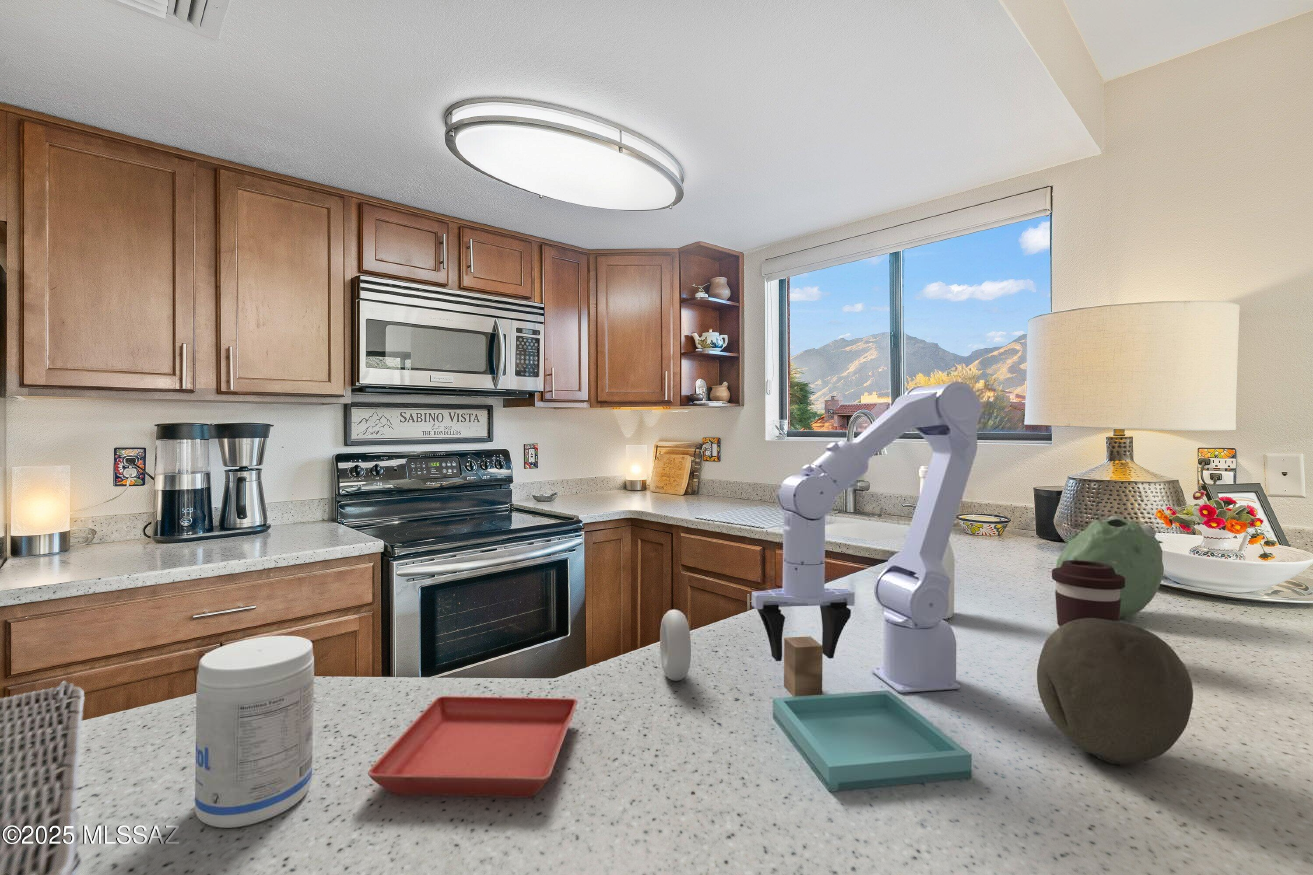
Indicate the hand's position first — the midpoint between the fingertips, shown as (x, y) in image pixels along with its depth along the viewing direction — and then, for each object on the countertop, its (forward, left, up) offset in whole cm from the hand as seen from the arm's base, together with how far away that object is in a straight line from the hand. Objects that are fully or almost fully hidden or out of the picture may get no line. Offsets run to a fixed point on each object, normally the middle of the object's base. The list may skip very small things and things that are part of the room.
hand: (802, 657), depth 84 cm
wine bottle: (-40, -31, -5) cm, 51 cm away
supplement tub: (+63, +16, -5) cm, 65 cm away
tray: (-1, +15, -5) cm, 16 cm away
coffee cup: (-53, -7, -5) cm, 54 cm away
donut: (+17, -7, -5) cm, 19 cm away
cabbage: (-76, -25, -5) cm, 80 cm away
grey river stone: (-28, +21, -5) cm, 35 cm away
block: (0, 0, -5) cm, 5 cm away
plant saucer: (+42, +11, -5) cm, 44 cm away
